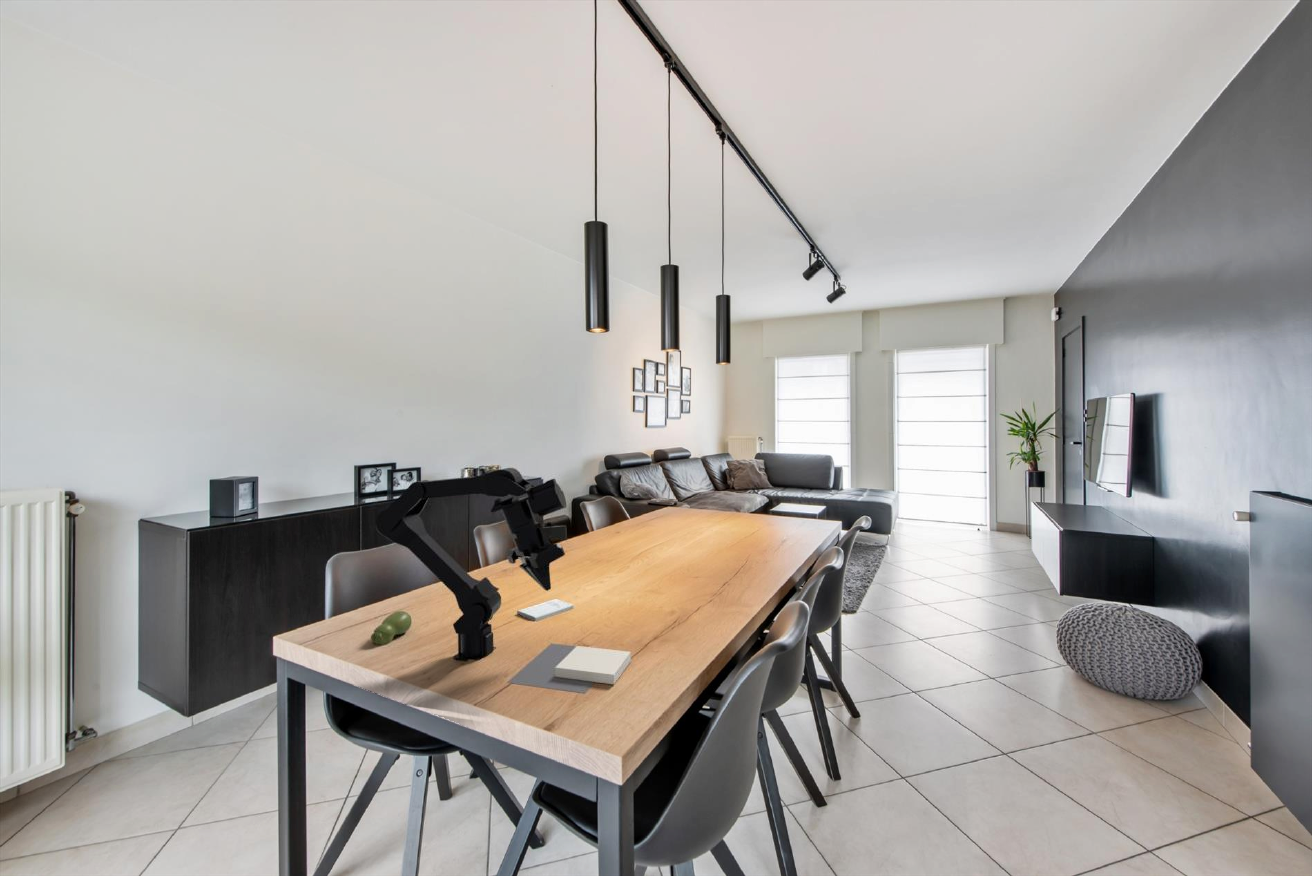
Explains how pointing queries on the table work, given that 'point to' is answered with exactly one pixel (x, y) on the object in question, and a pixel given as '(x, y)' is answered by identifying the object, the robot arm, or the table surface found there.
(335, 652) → the table surface
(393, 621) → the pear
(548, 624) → the table surface
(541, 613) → the external hard drive
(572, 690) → the mat
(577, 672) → the tile
